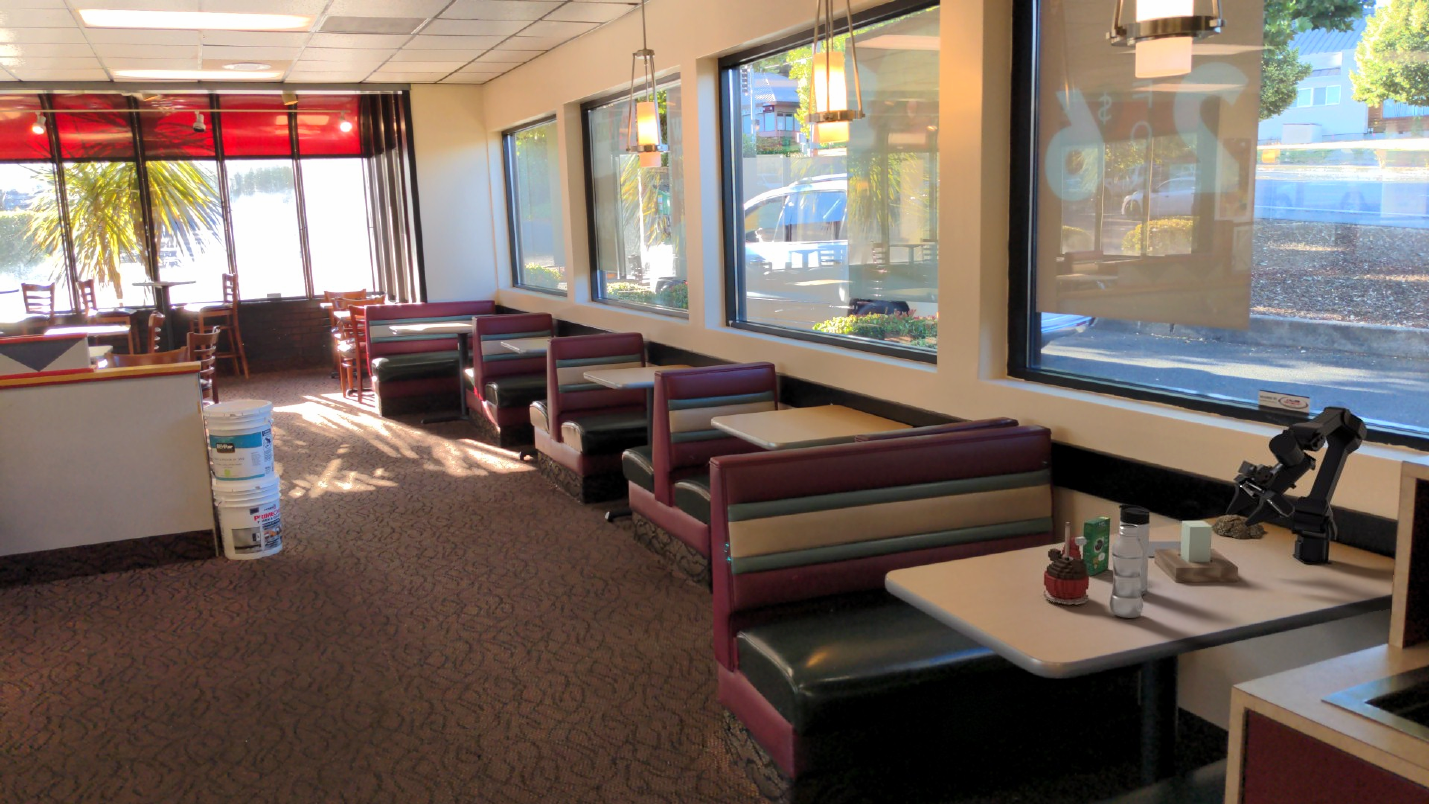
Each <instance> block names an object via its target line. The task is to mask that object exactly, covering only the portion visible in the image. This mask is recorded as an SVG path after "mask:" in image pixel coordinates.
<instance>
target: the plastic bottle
mask: <svg viewBox="0 0 1429 804" xmlns="http://www.w3.org/2000/svg"><path fill="white" fill-rule="evenodd" d="M1118 527H1119V530H1118V535H1120V537H1119V536H1118V537H1117V539H1116V540H1115V541H1114V542H1113V543H1112V545H1111V548H1110V551H1111V559H1112V560H1111V561H1112V570H1113V571H1112V572H1113V574H1112V575H1113V577H1112V578H1113V580H1112V588H1111V589H1112V590H1111V594H1110V598H1109V607H1110V608H1109V609H1110V611H1111V612H1112V614H1113V615H1115V616H1117V617H1120V618H1126V619H1135V618H1138V617H1140V615H1142V613H1143V609H1144V602H1143V595H1142V596H1141V570H1142V563H1143V558H1144V548H1143V546H1142V544H1141V542H1140V541H1139V540H1138V538H1137V536H1138V535H1139V533H1138V526H1137V525H1133V524H1121V525H1120V524H1119V526H1118Z"/></svg>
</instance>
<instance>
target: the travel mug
mask: <svg viewBox="0 0 1429 804" xmlns="http://www.w3.org/2000/svg"><path fill="white" fill-rule="evenodd" d="M1118 509H1120V511H1119V512H1120V513H1119V514H1120V515H1119V516H1120V517H1119V526H1120V525H1121V524H1133V525H1137V526H1138V533H1139V535H1138V536H1137V538H1138V540H1139V541H1140V542H1141V544H1142V546H1143V548H1144V558H1143V563H1142V570H1141V595H1142V596H1144V595H1143V594H1145V595H1146V594H1147V593H1148V575H1149V558H1148V553H1149V542H1150V523H1151V522H1150V521H1151V520H1150V518H1151V517H1150V516H1151V515H1150V513H1151V512H1150V510H1149V509H1147V508H1146V507H1143V506H1140V505H1135V504H1134V505H1133V504H1126V503H1122V504H1119V505H1118ZM1118 535H1119V534H1118ZM1119 537H1120V535H1119V536H1118V538H1119Z"/></svg>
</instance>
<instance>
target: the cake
mask: <svg viewBox="0 0 1429 804" xmlns="http://www.w3.org/2000/svg"><path fill="white" fill-rule="evenodd" d="M1070 532H1071V522H1069V521H1068V522H1067V521H1066V522H1065V531H1064V533H1065V534H1064V546H1063V547H1062V549H1061V550H1060V549H1058V548H1056V547H1054V548H1050V549H1049V550H1048V551H1047V557H1048V558H1049V561H1051V563H1049V564H1048V565H1047V566H1046V570H1044V573H1043V586H1045V590H1044V591H1043V597H1044V598H1046V599H1045V600H1047V599H1048V600H1047V601H1049V600H1051V601H1050V602H1052V601H1053V602H1052V603H1057V602H1058V604H1059V603H1062V604H1063V603H1064V604H1063V605H1073V604H1074V605H1081V604H1086V602H1088V601H1089V594H1087V590H1089V586H1090V576H1089V575H1088V574H1087V570H1086V563H1085V562H1084V559H1082V554H1081V550H1080V549H1081V547H1083V545H1085V544H1086V539H1085V537H1083V536H1075V537H1072V538H1070V537H1071V535H1070V534H1071V533H1070Z"/></svg>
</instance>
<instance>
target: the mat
mask: <svg viewBox="0 0 1429 804" xmlns="http://www.w3.org/2000/svg"><path fill="white" fill-rule="evenodd" d="M1155 549H1181V540H1180V541H1179V540H1178V541H1175V540H1173V541H1163V540H1162V541H1157V540H1156V541H1149V553H1148V559H1150V558H1151V559H1152V558H1154V559H1155Z"/></svg>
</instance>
